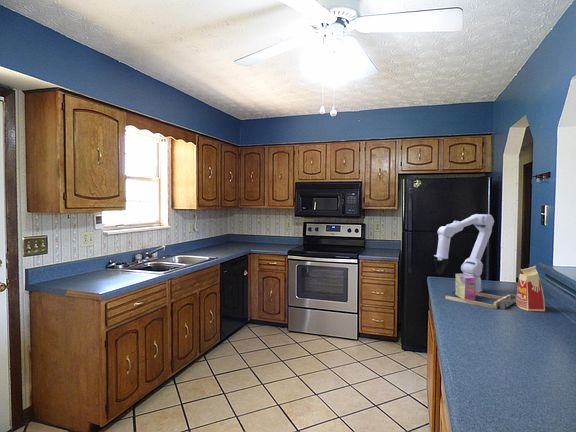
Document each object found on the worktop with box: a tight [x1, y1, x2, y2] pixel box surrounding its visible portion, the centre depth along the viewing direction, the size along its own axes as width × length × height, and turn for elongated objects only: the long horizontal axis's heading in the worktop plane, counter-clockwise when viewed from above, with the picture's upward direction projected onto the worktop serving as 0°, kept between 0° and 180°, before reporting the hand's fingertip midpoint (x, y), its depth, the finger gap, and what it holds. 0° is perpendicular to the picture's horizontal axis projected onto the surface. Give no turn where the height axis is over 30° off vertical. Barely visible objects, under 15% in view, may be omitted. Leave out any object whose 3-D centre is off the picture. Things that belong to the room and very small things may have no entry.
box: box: [455, 273, 476, 301], centre depth 183 cm, size 10×6×12 cm, turn 179°
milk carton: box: [515, 265, 546, 312], centre depth 164 cm, size 9×9×20 cm
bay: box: [445, 292, 517, 311], centre depth 178 cm, size 19×28×4 cm
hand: (439, 273), depth 189 cm, fingers open, 7 cm apart
